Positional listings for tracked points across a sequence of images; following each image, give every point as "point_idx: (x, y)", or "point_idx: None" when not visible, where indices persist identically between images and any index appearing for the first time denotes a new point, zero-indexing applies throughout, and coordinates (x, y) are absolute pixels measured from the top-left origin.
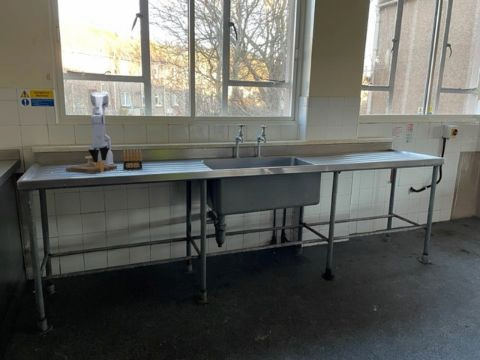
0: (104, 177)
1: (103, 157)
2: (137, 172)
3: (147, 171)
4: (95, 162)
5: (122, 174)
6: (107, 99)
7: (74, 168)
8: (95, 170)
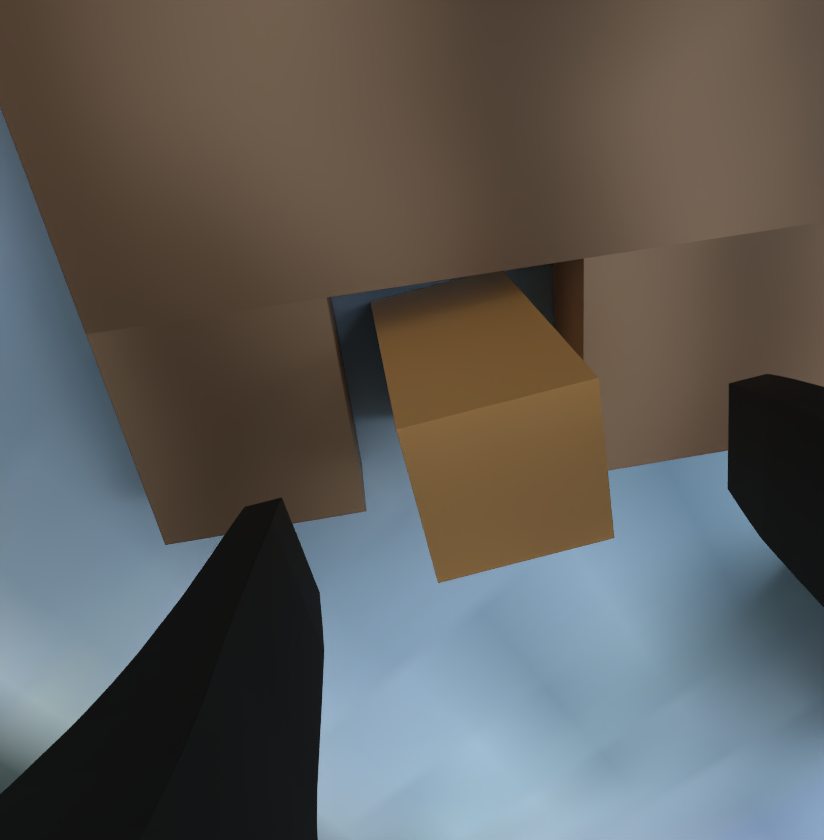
0: None
1: (795, 496)
2: (654, 813)
3: (772, 834)
4: (393, 404)
5: (422, 801)
6: None
7: None
8: (180, 535)
